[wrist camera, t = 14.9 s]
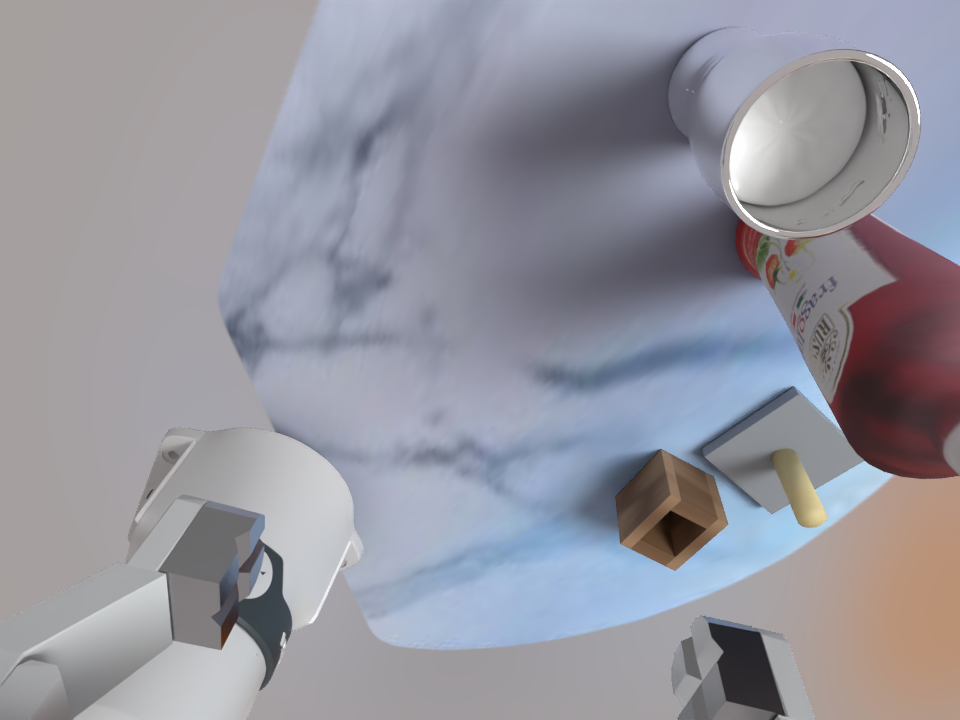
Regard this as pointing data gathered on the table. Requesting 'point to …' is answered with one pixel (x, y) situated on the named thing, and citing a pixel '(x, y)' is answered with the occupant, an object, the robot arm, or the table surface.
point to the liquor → (873, 337)
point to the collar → (669, 511)
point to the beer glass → (795, 127)
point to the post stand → (784, 456)
